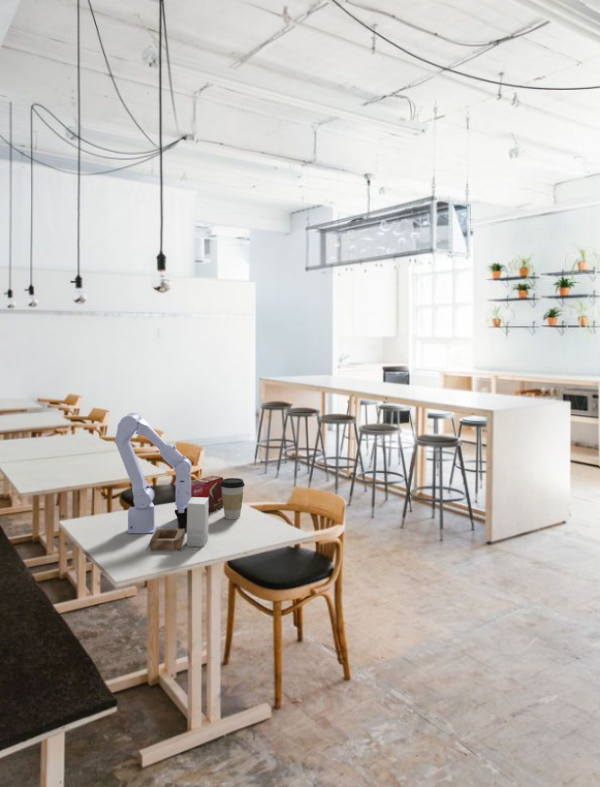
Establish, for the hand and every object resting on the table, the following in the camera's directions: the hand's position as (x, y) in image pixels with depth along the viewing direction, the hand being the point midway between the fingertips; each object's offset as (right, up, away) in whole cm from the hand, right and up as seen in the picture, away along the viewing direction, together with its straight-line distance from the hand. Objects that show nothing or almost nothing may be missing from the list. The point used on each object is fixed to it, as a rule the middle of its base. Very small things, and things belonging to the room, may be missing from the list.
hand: (183, 526), depth 239 cm
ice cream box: (+3, 0, +24) cm, 24 cm away
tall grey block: (0, -1, 0) cm, 1 cm away
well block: (-3, -3, -16) cm, 16 cm away
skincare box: (+8, -3, -14) cm, 17 cm away
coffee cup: (+16, 0, +18) cm, 24 cm away
